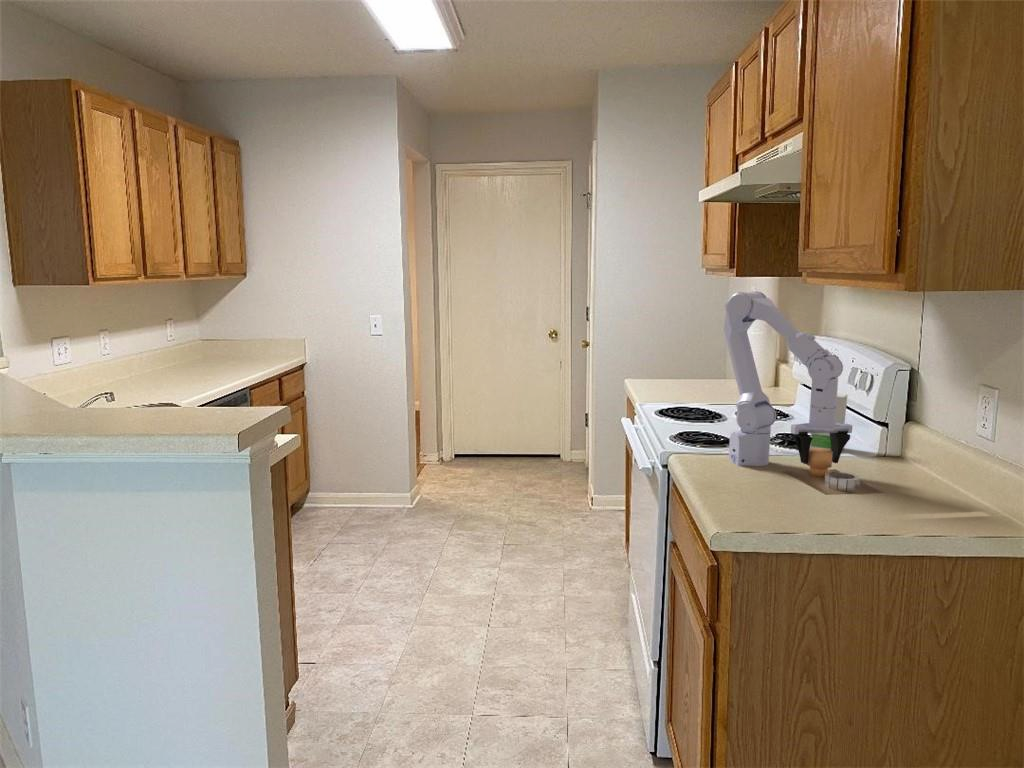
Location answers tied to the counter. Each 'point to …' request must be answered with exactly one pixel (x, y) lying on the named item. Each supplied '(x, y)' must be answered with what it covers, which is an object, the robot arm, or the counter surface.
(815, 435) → the skincare box
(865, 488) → the brown board
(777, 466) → the counter surface
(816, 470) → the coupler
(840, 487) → the duct stub
